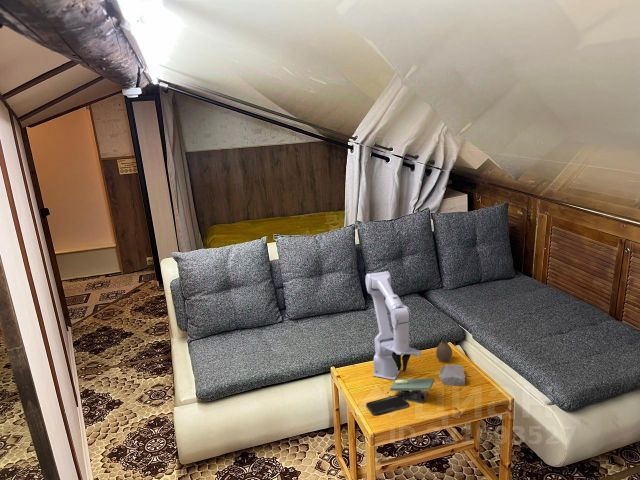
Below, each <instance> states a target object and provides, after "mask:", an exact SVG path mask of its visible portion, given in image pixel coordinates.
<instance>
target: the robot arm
mask: <svg viewBox="0 0 640 480" xmlns="http://www.w3.org/2000/svg"><path fill="white" fill-rule="evenodd" d="M391 285H392V275H391V273H390V272H389V271H388V270H386V271H380V272H371V273H366V275H365V287H366V292H367V294H369V295H371V298H372V301H373V306H374V313H375V316H376V322H377V328H378V334H377V335H376V336H375V338H374V340H373V341H374V350H375V354H374V356H373V363H372V364H373V376H374V377H377V378H382V379H387V380H393V381H395V379H396V378H397V377H398V375H399V373H401V369H402V371H403V372H406V371H407V366H408V362H409V360H410V358H411V357H412V356H415V357H417V358H420V357H421V355H422V350H419V349H416V348H414V347H411V346H410V335H409V333H410V331H409V329H410V328H409V323H411V321H412V315H411V311H410V308H409V307H408V306H406V305H404V304H403V302H402V300H401V298H400V296H399V295H398V294H396V293H394V290H393V288H392V286H391ZM387 309H388V311H389V313H390V314H389V315H390V320H391V325H390V320H389V316H388V312H387ZM391 326H392V328H393V329H392V330H393V331H392V330H391Z"/></svg>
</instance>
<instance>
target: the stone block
mask: <svg viewBox="0 0 640 480" xmlns="http://www.w3.org/2000/svg"><path fill="white" fill-rule="evenodd" d="M438 376H439V379H440V381H441V383H442V384H443V385H444V386H448V387H449V386H450V387H453V386H455V387H456V386H457V387H458V386H459V387H460V386H462V387H463V386H465V385H466V377H465V371H464V366H463V365H459V364H457V365H456V364H445V365H443V366H442V365H441V367H440V370H439V375H438Z"/></svg>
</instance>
